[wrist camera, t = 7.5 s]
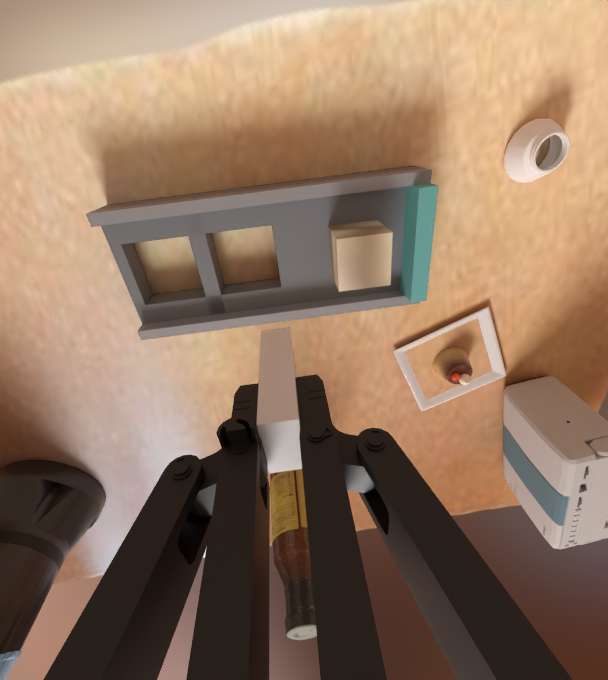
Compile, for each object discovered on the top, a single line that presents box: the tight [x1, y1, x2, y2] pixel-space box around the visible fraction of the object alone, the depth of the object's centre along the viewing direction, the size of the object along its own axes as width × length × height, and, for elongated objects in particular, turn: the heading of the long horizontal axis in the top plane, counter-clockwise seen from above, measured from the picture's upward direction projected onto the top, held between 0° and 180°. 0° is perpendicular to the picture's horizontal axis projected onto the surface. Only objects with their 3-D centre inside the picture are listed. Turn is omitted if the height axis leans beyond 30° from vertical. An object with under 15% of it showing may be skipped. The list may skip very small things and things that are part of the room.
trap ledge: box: [86, 166, 438, 340], centre depth 31 cm, size 28×12×6 cm, turn 96°
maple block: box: [328, 220, 393, 292], centre depth 29 cm, size 4×4×4 cm
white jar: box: [504, 118, 570, 183], centre depth 29 cm, size 5×3×5 cm
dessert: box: [393, 307, 506, 411], centre depth 41 cm, size 12×12×5 cm
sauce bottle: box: [270, 469, 317, 640], centre depth 43 cm, size 6×6×20 cm
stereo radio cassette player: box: [503, 376, 608, 549], centre depth 42 cm, size 21×8×20 cm, turn 18°
